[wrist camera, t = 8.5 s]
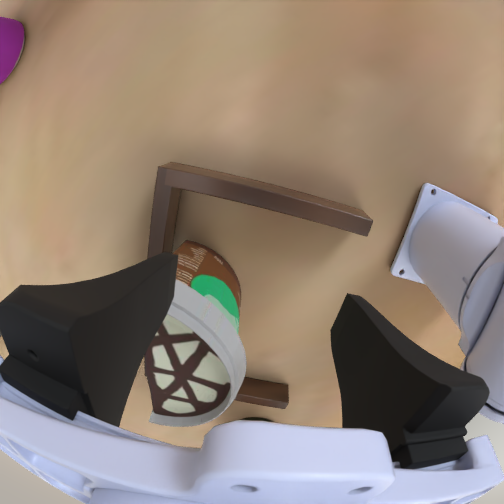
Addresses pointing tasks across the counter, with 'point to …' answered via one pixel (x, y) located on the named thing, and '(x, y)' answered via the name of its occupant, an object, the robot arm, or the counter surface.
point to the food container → (197, 342)
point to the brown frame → (250, 193)
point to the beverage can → (10, 45)
